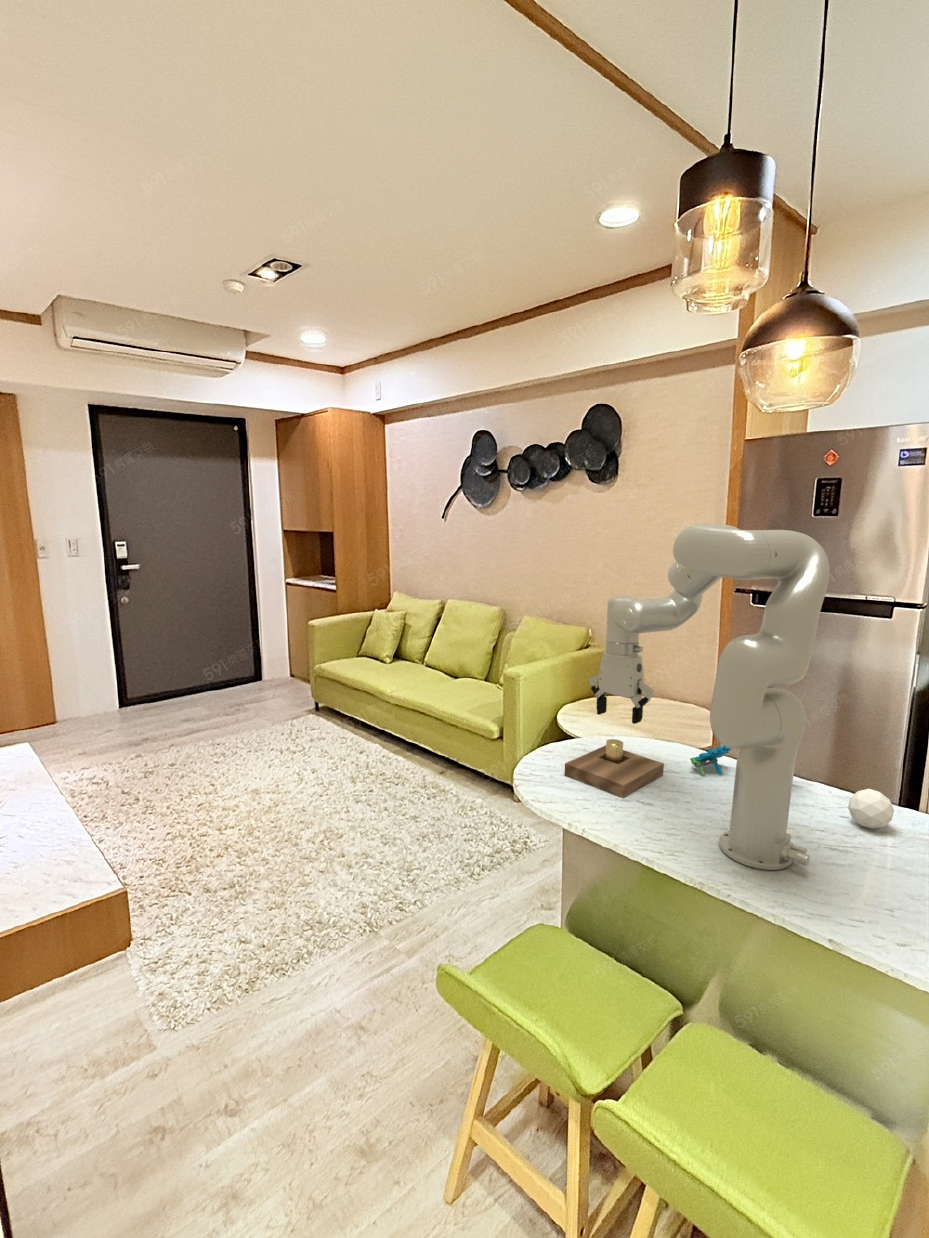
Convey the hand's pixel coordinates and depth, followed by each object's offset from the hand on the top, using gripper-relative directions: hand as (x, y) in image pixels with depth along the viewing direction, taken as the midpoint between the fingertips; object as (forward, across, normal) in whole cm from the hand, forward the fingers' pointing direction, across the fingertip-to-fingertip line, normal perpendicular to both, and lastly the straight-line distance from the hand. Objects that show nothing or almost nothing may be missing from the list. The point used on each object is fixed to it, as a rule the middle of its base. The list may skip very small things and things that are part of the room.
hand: (618, 717), depth 151 cm
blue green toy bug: (+14, -15, -18) cm, 27 cm away
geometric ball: (+15, -50, -15) cm, 54 cm away
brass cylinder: (+13, +1, 0) cm, 13 cm away
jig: (+14, -1, +3) cm, 14 cm away
